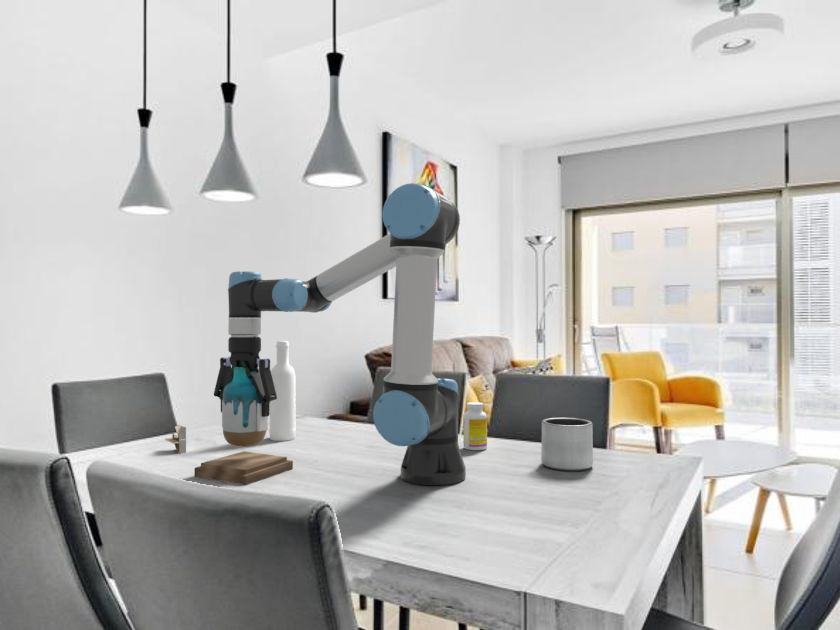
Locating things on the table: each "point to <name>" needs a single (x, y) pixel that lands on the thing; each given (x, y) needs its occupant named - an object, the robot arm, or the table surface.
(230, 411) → the vase
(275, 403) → the bottle
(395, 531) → the table surface
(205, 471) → the pedestal
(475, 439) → the supplement bottle
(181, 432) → the architectural model
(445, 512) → the table surface
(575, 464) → the planter
